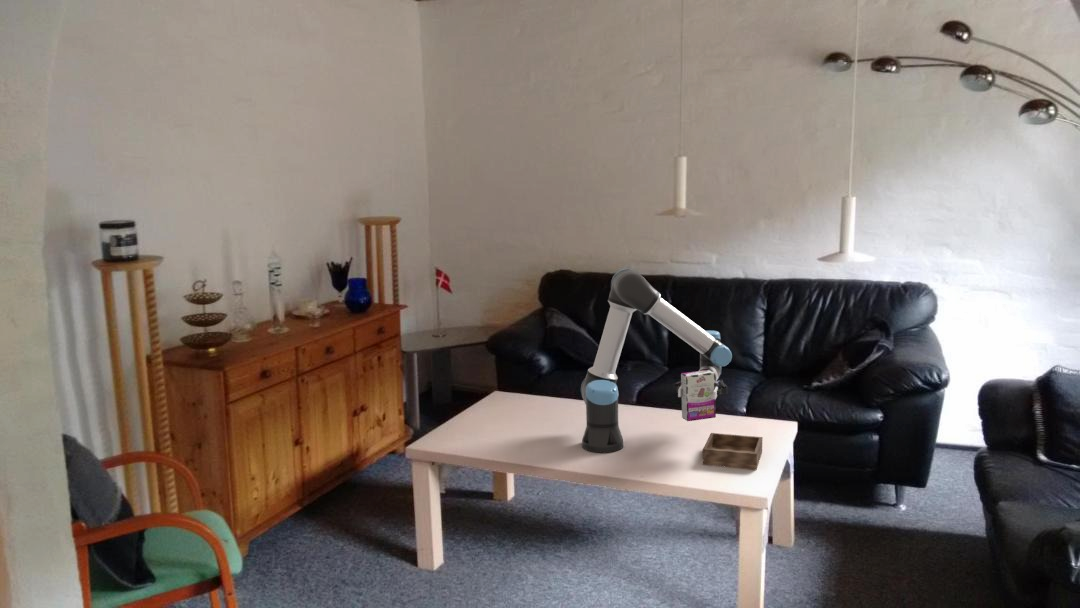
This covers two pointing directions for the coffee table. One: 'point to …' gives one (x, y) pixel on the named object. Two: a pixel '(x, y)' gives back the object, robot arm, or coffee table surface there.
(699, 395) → the candy bar box
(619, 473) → the coffee table surface
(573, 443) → the coffee table surface
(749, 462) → the walnut holder
